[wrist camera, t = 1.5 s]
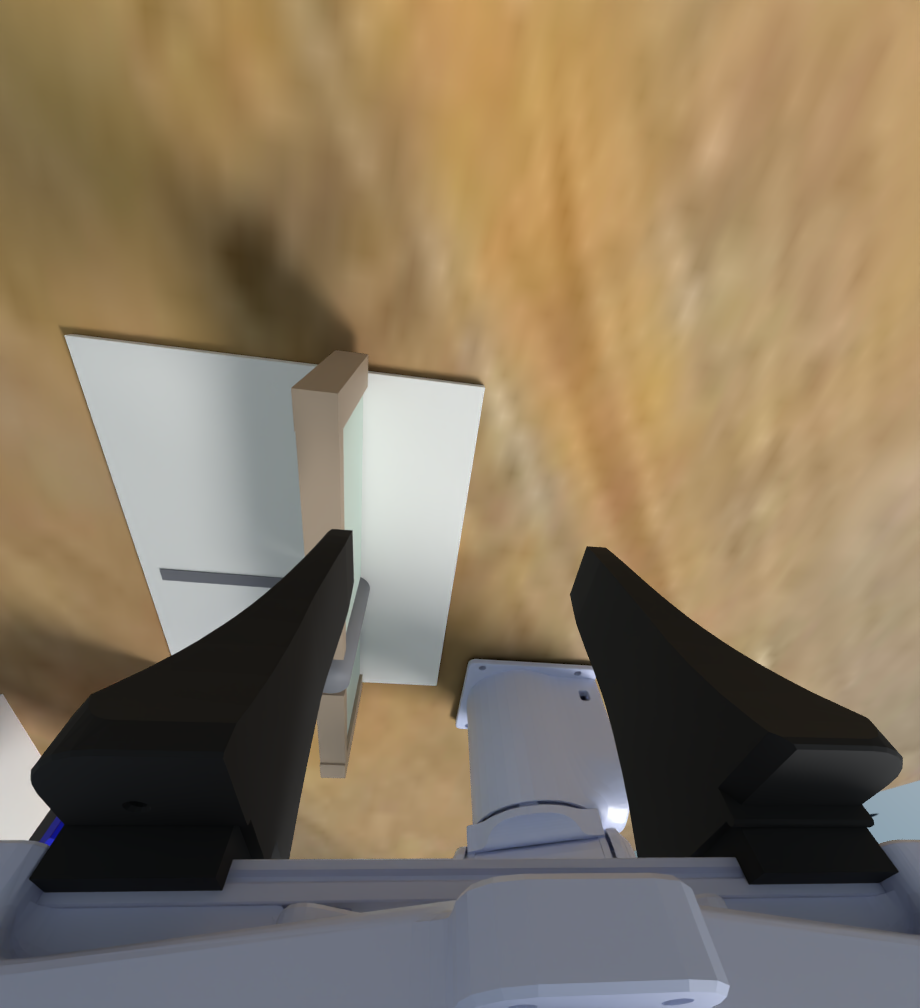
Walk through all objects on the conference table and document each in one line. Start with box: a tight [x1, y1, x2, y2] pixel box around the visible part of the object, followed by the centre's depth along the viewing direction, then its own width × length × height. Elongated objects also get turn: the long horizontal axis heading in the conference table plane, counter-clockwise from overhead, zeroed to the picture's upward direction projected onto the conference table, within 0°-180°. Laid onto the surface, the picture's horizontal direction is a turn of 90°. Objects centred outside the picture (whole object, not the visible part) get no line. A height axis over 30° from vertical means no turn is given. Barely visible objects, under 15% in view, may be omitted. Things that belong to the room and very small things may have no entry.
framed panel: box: [291, 350, 368, 660], centre depth 18 cm, size 12×1×6 cm, turn 172°
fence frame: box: [317, 577, 370, 778], centre depth 25 cm, size 2×10×7 cm, turn 172°
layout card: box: [64, 334, 485, 686], centre depth 24 cm, size 18×22×1 cm
